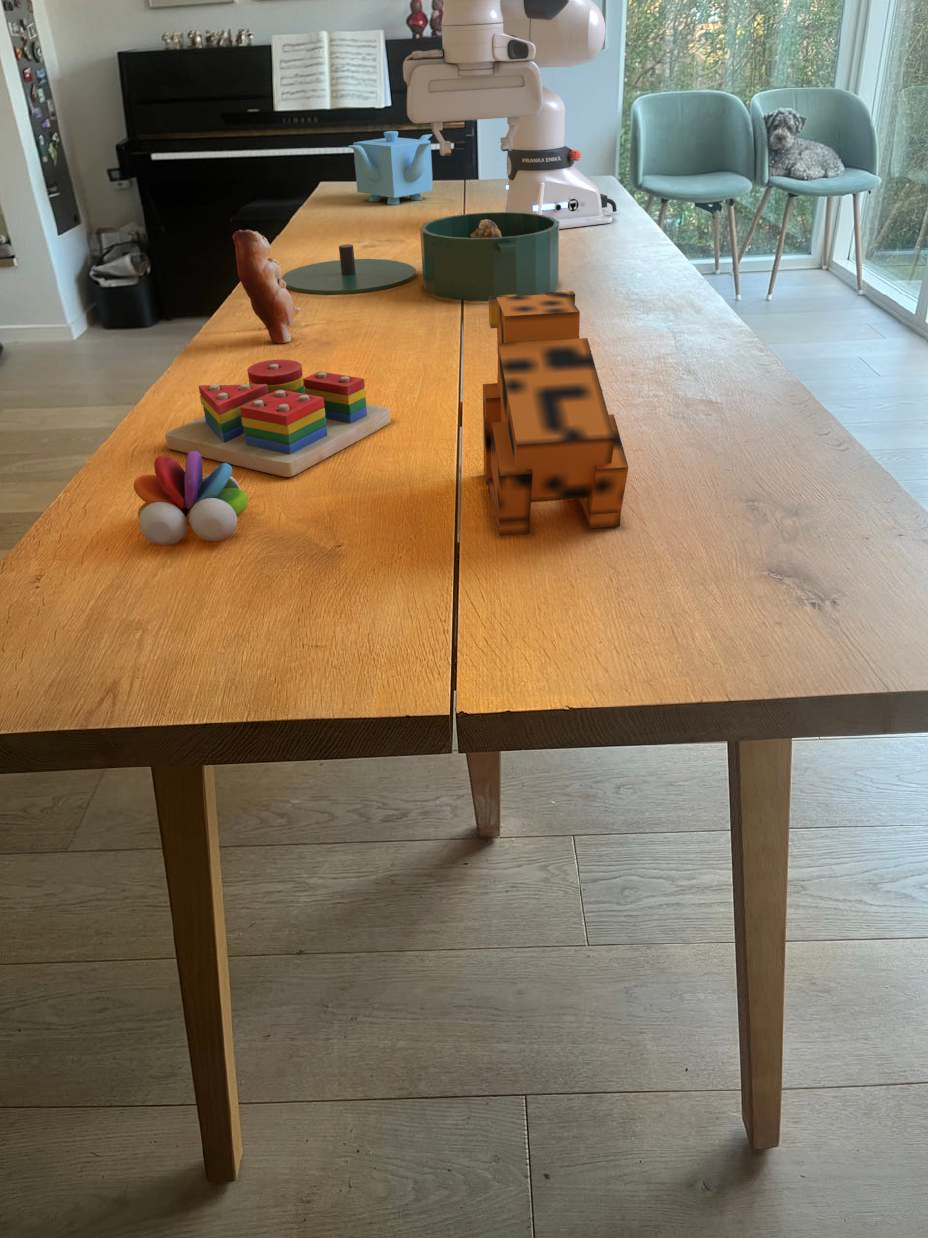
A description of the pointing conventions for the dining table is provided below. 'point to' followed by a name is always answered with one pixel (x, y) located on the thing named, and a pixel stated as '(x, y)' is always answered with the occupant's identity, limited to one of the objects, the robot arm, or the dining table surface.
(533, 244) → the tin
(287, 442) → the shape sorter
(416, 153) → the teakettle
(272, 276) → the figurine
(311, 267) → the tin lid
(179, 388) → the dining table surface
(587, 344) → the toy animal
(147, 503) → the rainbow fan rolling toy
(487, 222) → the lion figurine
